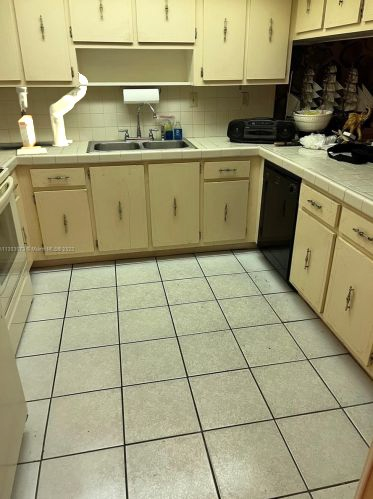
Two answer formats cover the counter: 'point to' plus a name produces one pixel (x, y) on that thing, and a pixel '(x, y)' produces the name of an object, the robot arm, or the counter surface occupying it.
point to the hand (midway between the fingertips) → (24, 117)
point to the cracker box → (27, 131)
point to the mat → (31, 151)
